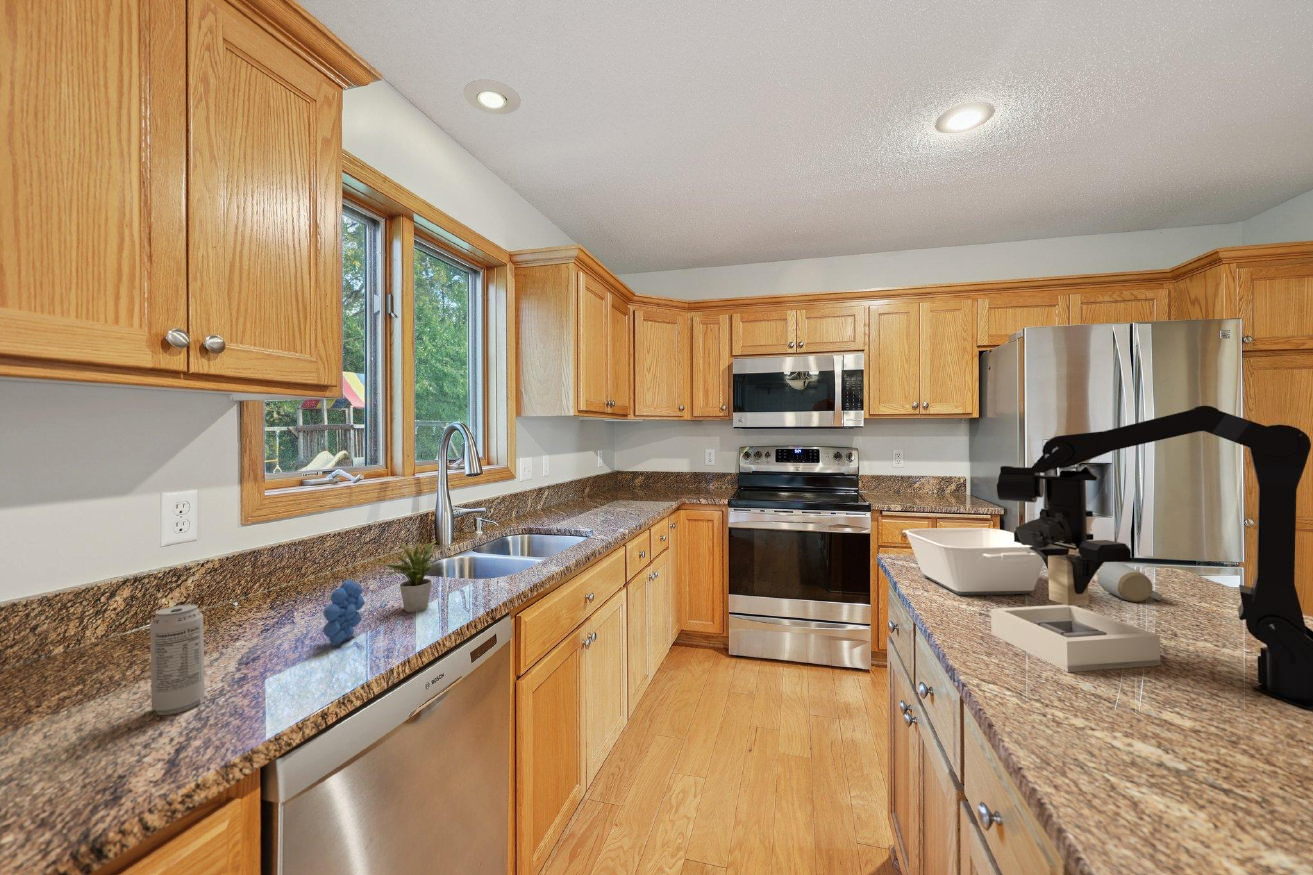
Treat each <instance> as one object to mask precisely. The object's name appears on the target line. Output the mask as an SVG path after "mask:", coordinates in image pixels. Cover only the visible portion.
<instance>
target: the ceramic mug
mask: <svg viewBox="0 0 1313 875" xmlns="http://www.w3.org/2000/svg"><path fill="white" fill-rule="evenodd" d="M1096 578H1097V582H1098V584H1099V586H1100V588H1102V589H1103V591H1105V592H1107V593H1110V595H1113V596H1115V597H1118V598H1121V599H1122V600H1125V601H1127V602H1132V603H1133V602H1134V603H1136V602H1137V603H1139V602H1143V601H1145V600H1147V599H1148V598H1152V599H1154V600H1156V601H1161V599H1162V598H1163V594H1162V593H1159V592H1157V591H1155V590H1154V589H1153V588H1154V587H1153V583H1152V581H1151V580H1150V578H1149V577H1148V576H1147V575H1145V573H1142V572H1141V571H1139V570H1137V569H1134V568H1133V567H1130V566H1128V565H1126V564H1124V563H1122V562H1120V561H1117V562H1106V563H1105V564H1104V565H1103V564H1102V565H1101V567H1100V568H1099V569H1098V570H1097V577H1096Z"/></svg>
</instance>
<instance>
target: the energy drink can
mask: <svg viewBox="0 0 1313 875" xmlns="http://www.w3.org/2000/svg"><path fill="white" fill-rule="evenodd" d="M198 607H199V605H198V604H194V603H192V604H191V603H189V604H179V605H172V606H169V607H165V608H161V609H160V610H157V611H155V617H154V619H153V620H152V622H151V623H150V628H149V629H150V630H149V631H150V632H149V633H150V675H151V676H150V680H151V681H150V683H151V684H150V686H151V688H150V689H151V691H150V692H151V693H150V694H151V709H152V710H153V711H156V714H157V715H159V716H167V715H168V716H170V715H174V714H180V713H182V712H185V711H188V710H190V709H193V708H194V707H196V706H198V705H199V704H200V703H201V699H203V698H204V696H205V655H204V654H205V652H204V651H205V650H204V648H205V646H204V645H205V643H204V642H205V641H204V614H203V613H202V612H201V611H200V610H199V608H198Z"/></svg>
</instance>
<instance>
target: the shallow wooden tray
mask: <svg viewBox="0 0 1313 875" xmlns="http://www.w3.org/2000/svg"><path fill="white" fill-rule="evenodd" d="M990 619H991V620H990V622H991V624H990V628H991V629H990V630H991V631H990V632H991V635H992V636H994V637H995V638H998V639H999V640H1001V641H1004V642H1006V643H1009V644H1010V645H1012V646H1015V647H1016V648H1019V649H1021V650H1022V651H1024V652H1026V653H1028V654H1030V655H1032V656H1034V657H1035V658H1039V659H1040V660H1042V661H1044V662H1046V661H1047V663H1049V664H1050V663H1051V665H1053V666H1054V665H1055V667H1057V668H1058V667H1059V668H1058V669H1061V670H1062V671H1064V670H1065V672H1067V673H1074V672H1087V671H1102V670H1113V669H1114V670H1116V669H1129V668H1143V667H1157V665H1159V666H1161V640H1160V638H1161V636H1160V634H1157V633H1154V632H1151V631H1148V630H1145V629H1143V628H1140V627H1136V626H1134V625H1132V624H1128V623H1125V622H1122V621H1120V620H1116V619H1114V618H1111V617H1108V616H1105V615H1102V614H1099V613H1096V612H1093V611H1090V610H1088V609H1085V608H1081V607H1079V606H1077V605H1073V606H1067V605H1064V604H1053V605H1052V604H1050V605H1037V606H1036V605H1035V606H1020V607H1019V606H1017V607H1004V608H1003V607H1002V608H991V609H990Z"/></svg>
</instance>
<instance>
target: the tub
mask: <svg viewBox="0 0 1313 875" xmlns="http://www.w3.org/2000/svg"><path fill="white" fill-rule="evenodd" d="M904 533H905V534H906V536H907V538H908V541H909V544H910V546H911V549H912V551H913V554H914V556H915V559H916V561H917V563H918V566H919V568H920V572H921V574H922V575H923V577H924V576H925V578H926V579H927V578H929V579H930V580H929V579H928V580H929V581H931V580H932V582H933V581H934V583H935V582H936V583H935V584H937V583H938V584H937V585H939V586H941V587H942V586H943V587H942V588H944V587H945V588H944V589H946V588H947V589H946V590H948V589H949V591H950V590H951V591H950V592H952V593H954V594H957V595H958V596H1015V594H1023V595H1029V594H1031V593H1033V591H1034V590H1035V587H1036V585H1037V583H1038V580H1039V578H1040V575H1041V572H1042V569H1043V568H1044V565H1045V563H1044V561H1043V559H1042V557H1041V556H1040V555H1039V554H1037V553H1036V552H1035V551H1033V550H1031V549H1030V548H1029V547H1033V546H1029V545H1022V544H1021V543H1018V542H1014V532H1012V531H1008V530H1004V529H997V528H992V527H991V528H989V527H945V528H943V527H941V528H935V527H933V528H911V529H906V530H905V532H904Z"/></svg>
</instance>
